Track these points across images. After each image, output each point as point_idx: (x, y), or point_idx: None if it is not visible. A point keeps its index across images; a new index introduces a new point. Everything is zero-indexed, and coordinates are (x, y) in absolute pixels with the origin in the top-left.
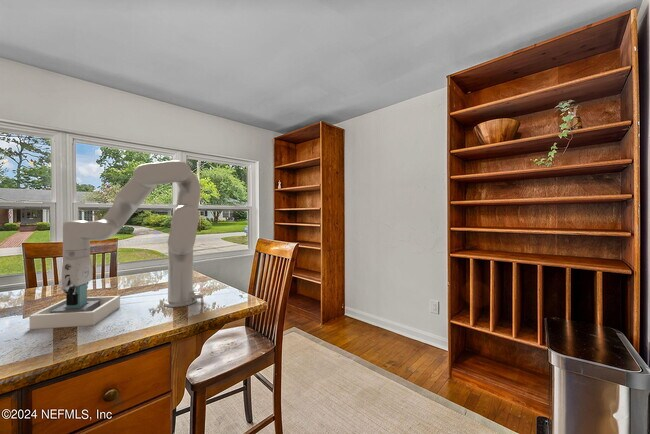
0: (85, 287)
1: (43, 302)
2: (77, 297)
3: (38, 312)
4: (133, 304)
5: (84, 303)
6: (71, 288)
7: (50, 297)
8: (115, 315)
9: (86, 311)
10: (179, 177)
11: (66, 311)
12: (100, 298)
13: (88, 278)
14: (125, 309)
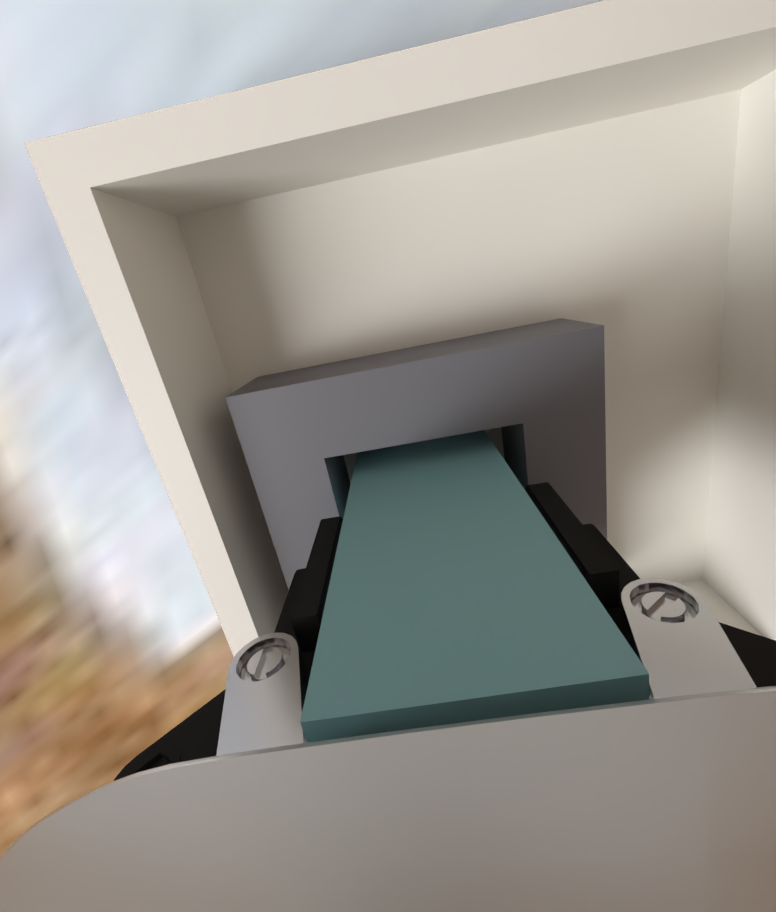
0: (378, 634)
1: None
2: (569, 531)
3: None
4: (6, 61)
5: (405, 473)
6: None
7: None
8: (428, 12)
9: (534, 331)
10: None
11: (601, 503)
12: (188, 420)
13: (286, 897)
14: (205, 35)
